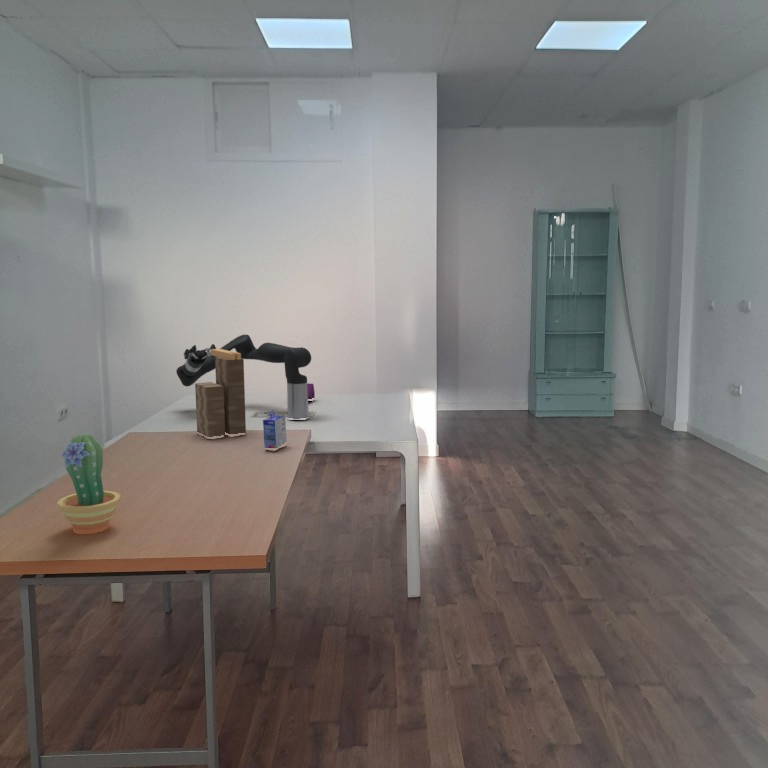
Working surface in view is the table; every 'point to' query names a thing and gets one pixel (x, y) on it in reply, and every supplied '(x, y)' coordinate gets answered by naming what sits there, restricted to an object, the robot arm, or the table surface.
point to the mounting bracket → (310, 391)
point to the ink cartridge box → (274, 430)
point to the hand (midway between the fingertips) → (204, 346)
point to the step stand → (222, 400)
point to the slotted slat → (226, 354)
